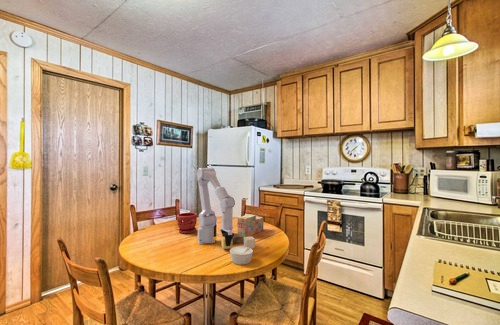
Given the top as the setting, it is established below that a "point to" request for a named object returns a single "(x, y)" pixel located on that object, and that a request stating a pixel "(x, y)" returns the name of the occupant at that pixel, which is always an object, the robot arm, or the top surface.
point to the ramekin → (241, 255)
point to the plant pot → (187, 222)
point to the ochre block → (225, 243)
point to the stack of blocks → (249, 225)
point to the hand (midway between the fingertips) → (226, 244)
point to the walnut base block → (237, 238)
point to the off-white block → (249, 242)
